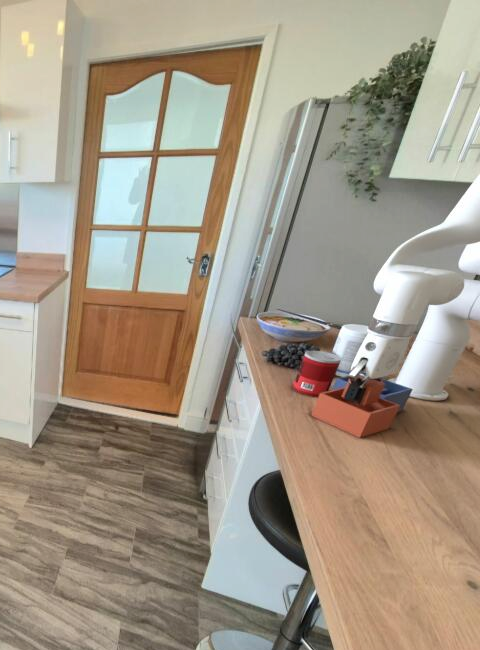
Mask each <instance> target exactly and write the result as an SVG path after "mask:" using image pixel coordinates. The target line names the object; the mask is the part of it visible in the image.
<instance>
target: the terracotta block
mask: <svg viewBox="0 0 480 650" xmlns="http://www.w3.org/2000/svg"><path fill="white" fill-rule="evenodd" d="M359 378H361V379H362V381H363V380H364V378H365V377H362V376H359ZM349 382H350V379H349V380H348V382H347V385H346V387H345V389H344V392H343V394H342V396H341V397H343V398H344V396H345V393H346V391H347V389H348V387H349ZM384 386H385V383H382V382H379V381H376V380H373V379H370V380H369V381H368V383H367V384H366V386H365V387H364V388H366V390H365V393H364V395H363V397H362V399H361V401H360V403H358V404H361V405H363V406H365V405H369V404H372V403H376V402H377V401H378V399H379V397H380V395H381V393H382V391H383V389H384Z"/></svg>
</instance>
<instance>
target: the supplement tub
mask: <svg viewBox="0 0 480 650" xmlns="http://www.w3.org/2000/svg"><path fill="white" fill-rule="evenodd" d="M341 326H342V328H341V329H339V332H338V335H337V338H336V341H335V343H334V346H333V349H332V352H331V354H334V355H337V356H338V357H340V358H341V361H340V364H339V366H338V369H337V371H336V374H335V376H336V377H339V378H341V377H346V376H349V374H350V373H351V367H352V364H353V361H354V359H355V357H356V355H357V353H358V351H359V349H360V347H361V345H362V343H363V341H364V339H365V338H366V336H367V334H368V333H369V332H368V331H367V329H368V327H369V325H365V324H356V323H347V324H343V325H341ZM362 372H364V371H362ZM362 372H361V373H362ZM364 373H366V372H364Z"/></svg>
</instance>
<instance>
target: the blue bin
mask: <svg viewBox="0 0 480 650" xmlns="http://www.w3.org/2000/svg"><path fill="white" fill-rule="evenodd" d="M362 374H365V375H366V373H364V372H362ZM349 379H350V378H349V376H346V377H338V378H336V380H335V382H334V384H333V386H332V389H331V390H335V389H339V388H342V387H346V385H347V382H348V380H349ZM388 380H389V379H385V380H384V382H383V383H385V386H384V388H386V389H389V391H388V393H387V395H382V394H381V395H380V398H382V399H385V400H388V401H390V402H393V403H395V404H398V405H400V407H399V409H398V411H397V413H400V412H402V411H403V410H404V408H405V406H406V404H407V402H408V400H409V398H410V394H411V392H412V390H413V389H411V388H408V387H405V386H402V385H399V384H396V383H393V382H390V381H388Z"/></svg>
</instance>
